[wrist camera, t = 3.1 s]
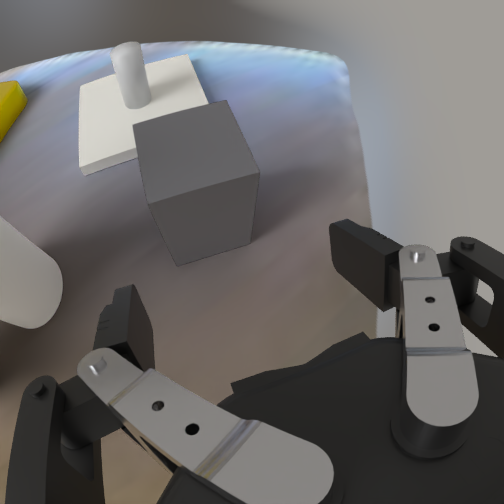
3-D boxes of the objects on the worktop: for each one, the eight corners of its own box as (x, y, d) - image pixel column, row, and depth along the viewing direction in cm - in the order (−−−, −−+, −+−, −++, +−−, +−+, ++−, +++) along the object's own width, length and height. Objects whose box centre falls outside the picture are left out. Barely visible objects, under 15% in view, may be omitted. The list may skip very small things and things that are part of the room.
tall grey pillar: (177, 266, 25) (147, 204, 16) (160, 202, 27) (132, 124, 18) (250, 243, 26) (259, 172, 17) (226, 183, 28) (226, 100, 19)
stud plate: (84, 175, 28) (50, 119, 20) (83, 94, 32) (63, 43, 24) (217, 134, 30) (215, 67, 22) (188, 62, 35) (183, 8, 27)
